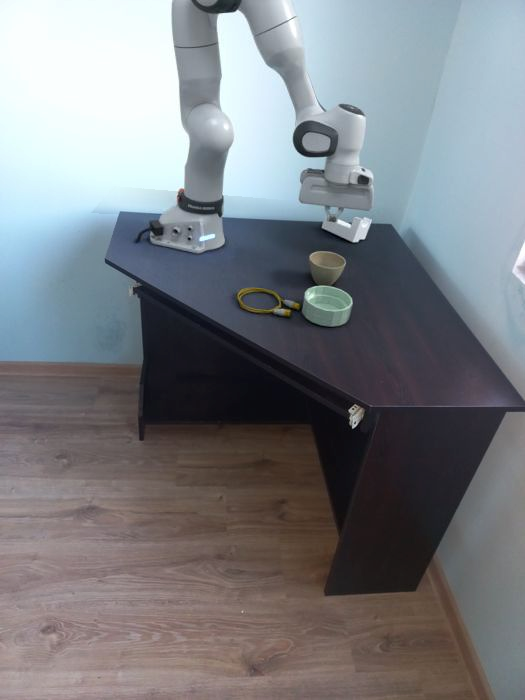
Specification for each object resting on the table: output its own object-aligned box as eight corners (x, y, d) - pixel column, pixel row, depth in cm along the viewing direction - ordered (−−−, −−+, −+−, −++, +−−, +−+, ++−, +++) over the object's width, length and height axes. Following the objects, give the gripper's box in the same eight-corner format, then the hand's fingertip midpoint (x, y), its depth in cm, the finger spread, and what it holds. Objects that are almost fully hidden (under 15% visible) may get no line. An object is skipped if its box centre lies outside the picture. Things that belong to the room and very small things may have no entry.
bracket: (363, 242, 177) (372, 220, 174) (352, 242, 172) (361, 219, 168) (332, 228, 184) (340, 206, 180) (321, 227, 178) (328, 205, 175)
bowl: (301, 324, 131) (304, 307, 128) (301, 299, 141) (304, 283, 138) (349, 330, 131) (354, 313, 128) (346, 305, 141) (350, 288, 138)
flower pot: (340, 276, 154) (345, 253, 150) (341, 293, 146) (346, 270, 142) (306, 271, 154) (310, 248, 150) (305, 288, 146) (309, 265, 142)
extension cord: (268, 327, 129) (269, 320, 128) (227, 298, 138) (228, 291, 136) (303, 312, 136) (304, 305, 135) (262, 285, 145) (263, 279, 144)
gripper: (301, 171, 139) (294, 221, 147) (379, 180, 139) (368, 229, 147) (301, 163, 144) (295, 212, 152) (377, 172, 144) (366, 220, 152)
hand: (331, 221), depth 150 cm, fingers closed
